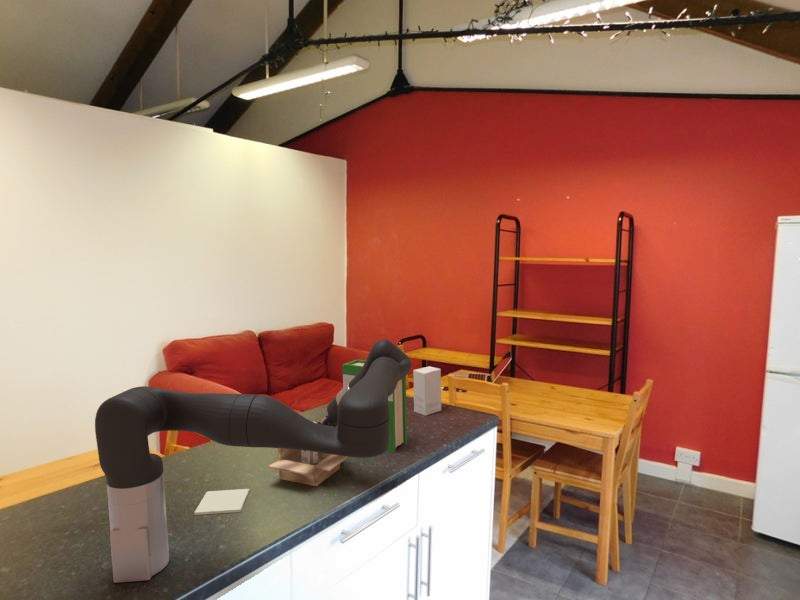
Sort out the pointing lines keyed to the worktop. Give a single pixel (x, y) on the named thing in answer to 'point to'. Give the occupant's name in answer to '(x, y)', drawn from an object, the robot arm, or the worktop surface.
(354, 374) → the hardback book
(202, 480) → the worktop surface
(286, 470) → the carton
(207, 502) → the coaster
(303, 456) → the sprinkles bottle
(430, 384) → the skincare box
